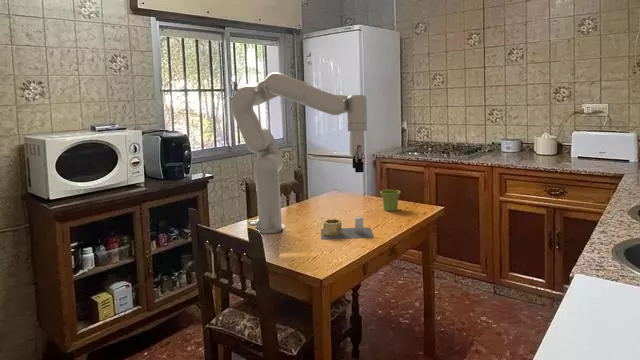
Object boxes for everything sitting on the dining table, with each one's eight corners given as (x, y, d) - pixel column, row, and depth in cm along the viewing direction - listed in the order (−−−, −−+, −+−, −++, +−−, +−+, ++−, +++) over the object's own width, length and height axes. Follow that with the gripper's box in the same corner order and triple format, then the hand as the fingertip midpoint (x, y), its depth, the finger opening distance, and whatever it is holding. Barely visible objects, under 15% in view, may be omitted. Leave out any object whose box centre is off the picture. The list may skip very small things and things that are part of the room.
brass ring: (323, 236, 195) (323, 224, 194) (323, 231, 202) (323, 219, 201) (342, 236, 195) (341, 223, 194) (341, 230, 202) (340, 218, 201)
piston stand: (321, 242, 192) (320, 224, 191) (320, 231, 206) (320, 214, 205) (374, 240, 192) (374, 222, 191) (370, 230, 206) (369, 213, 205)
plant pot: (376, 208, 240) (376, 191, 238) (393, 206, 244) (393, 188, 242) (387, 213, 231) (387, 194, 230) (404, 210, 235) (404, 192, 234)
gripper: (345, 125, 207) (346, 166, 210) (349, 129, 190) (350, 174, 193) (364, 124, 207) (364, 166, 210) (369, 128, 190) (370, 173, 193)
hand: (357, 170), depth 201 cm, fingers open, 9 cm apart
